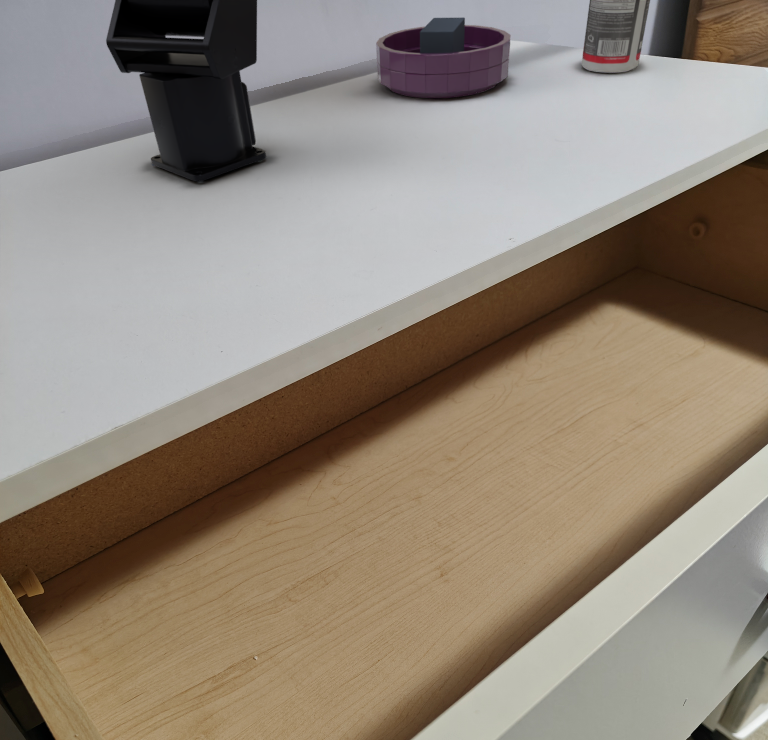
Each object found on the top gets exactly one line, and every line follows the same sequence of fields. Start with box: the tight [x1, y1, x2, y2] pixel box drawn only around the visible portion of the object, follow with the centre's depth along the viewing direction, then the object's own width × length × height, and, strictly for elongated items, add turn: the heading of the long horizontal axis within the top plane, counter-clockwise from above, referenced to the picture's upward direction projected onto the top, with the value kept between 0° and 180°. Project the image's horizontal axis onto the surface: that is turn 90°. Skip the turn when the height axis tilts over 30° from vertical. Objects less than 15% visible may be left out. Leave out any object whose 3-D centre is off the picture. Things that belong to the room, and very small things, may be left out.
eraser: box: [420, 17, 466, 54], centre depth 63 cm, size 6×3×4 cm, turn 166°
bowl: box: [375, 24, 511, 99], centre depth 63 cm, size 12×12×4 cm
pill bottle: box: [581, 0, 651, 74], centre depth 62 cm, size 5×5×10 cm
